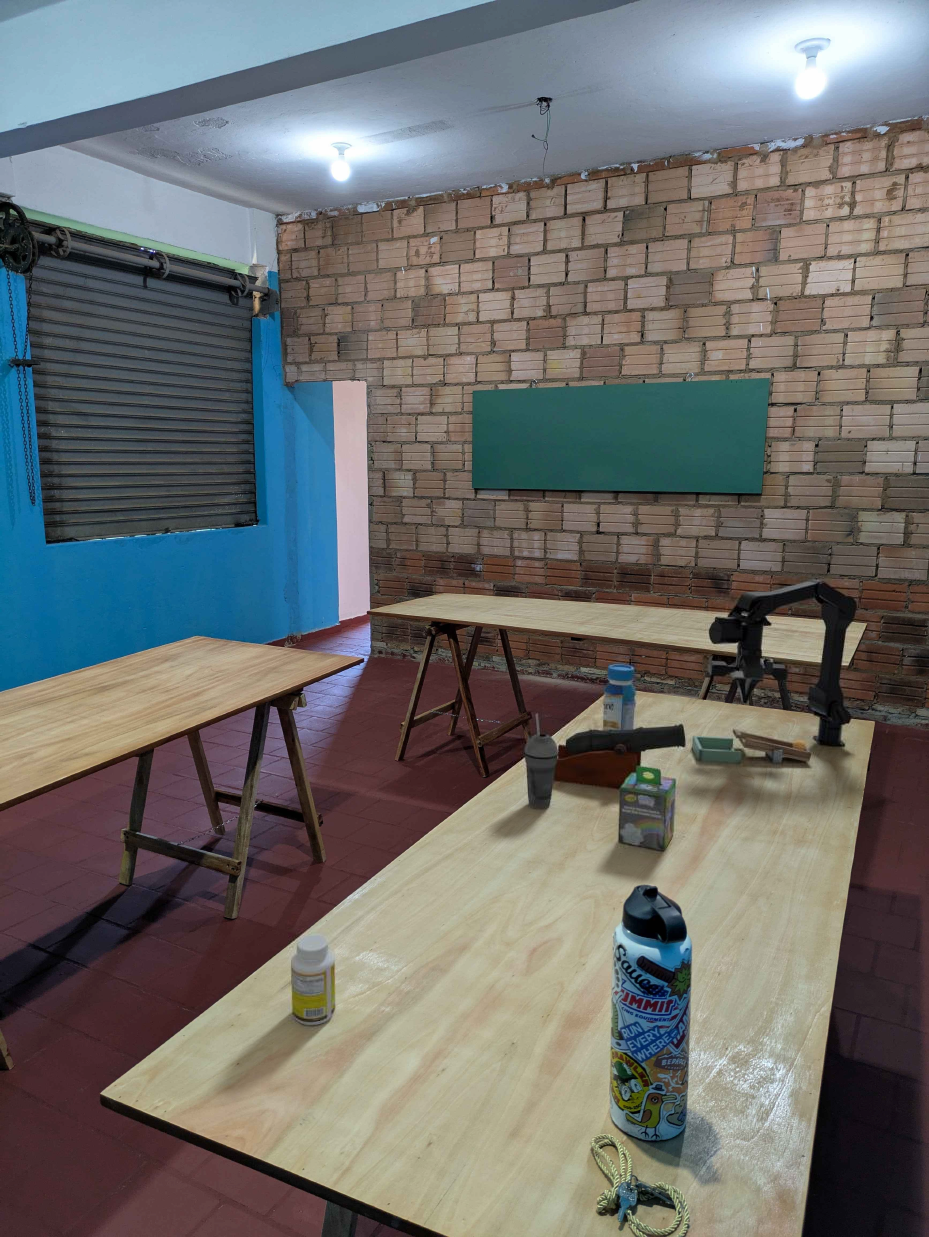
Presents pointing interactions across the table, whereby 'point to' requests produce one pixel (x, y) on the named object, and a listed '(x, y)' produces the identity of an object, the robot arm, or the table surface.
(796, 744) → the ball
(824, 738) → the robot arm
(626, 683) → the beverage bottle
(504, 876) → the table surface
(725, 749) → the tray
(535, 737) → the beverage cup
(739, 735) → the chute
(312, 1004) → the supplement bottle
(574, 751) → the cannon model
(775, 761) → the fulcrum
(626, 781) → the chalk box
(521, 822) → the table surface
